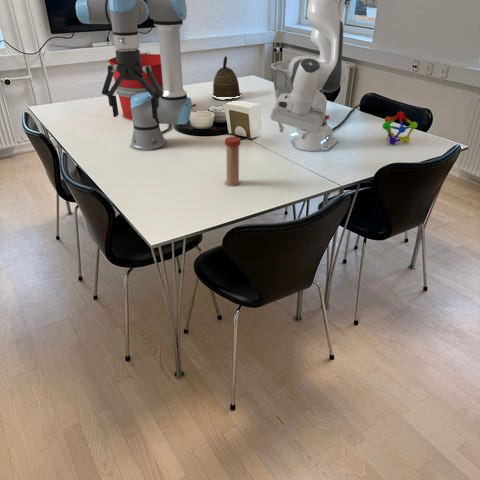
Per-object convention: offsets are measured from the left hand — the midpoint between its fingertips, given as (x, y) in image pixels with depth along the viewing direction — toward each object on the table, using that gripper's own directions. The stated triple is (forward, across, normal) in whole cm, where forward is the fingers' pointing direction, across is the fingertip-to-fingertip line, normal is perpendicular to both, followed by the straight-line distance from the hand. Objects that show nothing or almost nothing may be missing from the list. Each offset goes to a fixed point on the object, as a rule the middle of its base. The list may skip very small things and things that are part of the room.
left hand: (135, 116), depth 150 cm
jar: (+28, +32, +12) cm, 44 cm away
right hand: (+14, +53, +29) cm, 62 cm away
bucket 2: (+28, +55, +99) cm, 117 cm away
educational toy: (+28, +102, +67) cm, 125 cm away
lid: (+11, +32, +12) cm, 35 cm away
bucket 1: (+28, -29, +97) cm, 105 cm away
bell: (+28, +10, +140) cm, 143 cm away
